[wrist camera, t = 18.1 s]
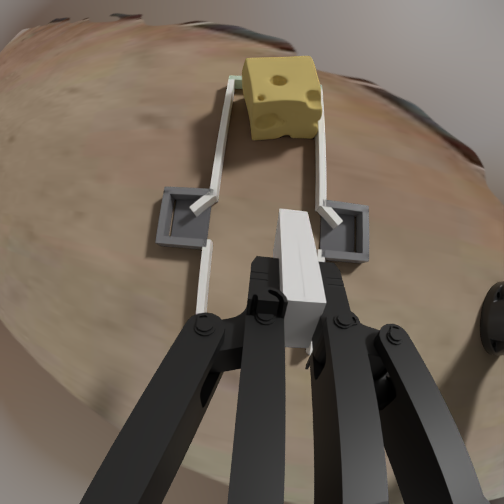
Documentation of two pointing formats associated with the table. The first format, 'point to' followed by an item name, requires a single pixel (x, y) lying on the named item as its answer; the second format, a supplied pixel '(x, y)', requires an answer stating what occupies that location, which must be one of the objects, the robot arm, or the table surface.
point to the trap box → (200, 200)
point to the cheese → (282, 97)
